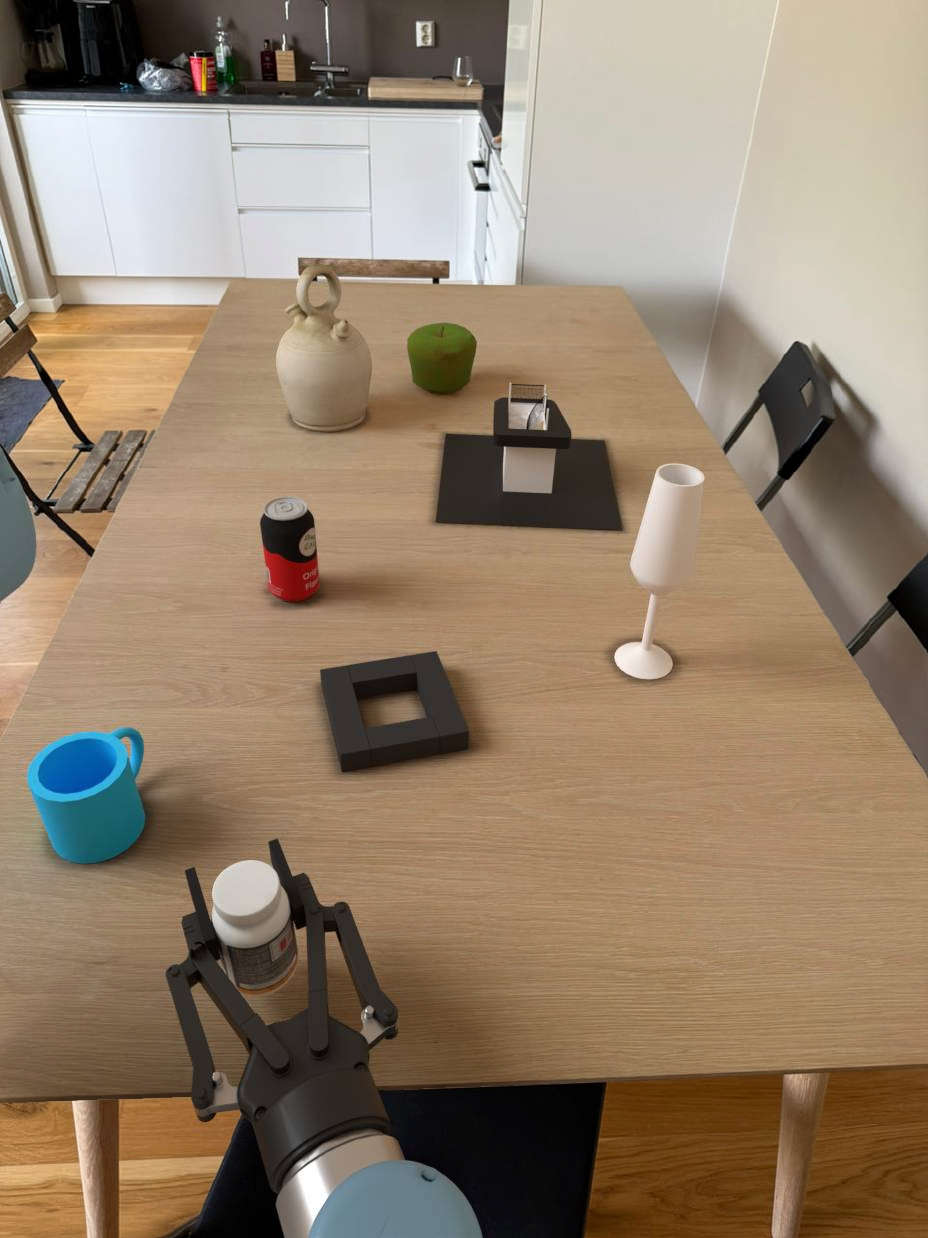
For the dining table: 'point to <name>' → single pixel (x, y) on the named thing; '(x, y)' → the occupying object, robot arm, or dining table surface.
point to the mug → (89, 794)
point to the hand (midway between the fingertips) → (234, 865)
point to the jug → (323, 361)
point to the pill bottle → (254, 928)
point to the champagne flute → (663, 558)
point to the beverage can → (290, 549)
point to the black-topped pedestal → (527, 471)
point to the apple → (441, 357)
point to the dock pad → (397, 739)
